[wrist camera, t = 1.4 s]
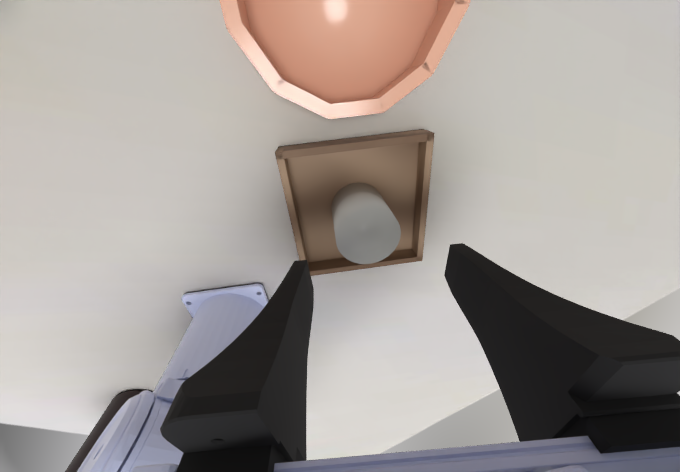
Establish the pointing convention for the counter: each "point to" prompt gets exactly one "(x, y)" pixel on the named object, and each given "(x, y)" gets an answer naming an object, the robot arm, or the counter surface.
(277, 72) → the bowl
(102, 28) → the counter surface
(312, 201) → the tray
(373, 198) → the stone
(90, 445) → the vinegar
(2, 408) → the counter surface
